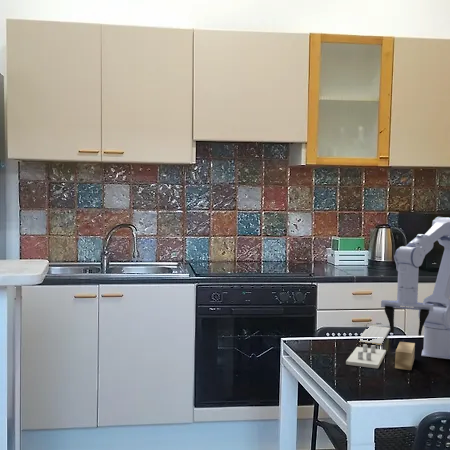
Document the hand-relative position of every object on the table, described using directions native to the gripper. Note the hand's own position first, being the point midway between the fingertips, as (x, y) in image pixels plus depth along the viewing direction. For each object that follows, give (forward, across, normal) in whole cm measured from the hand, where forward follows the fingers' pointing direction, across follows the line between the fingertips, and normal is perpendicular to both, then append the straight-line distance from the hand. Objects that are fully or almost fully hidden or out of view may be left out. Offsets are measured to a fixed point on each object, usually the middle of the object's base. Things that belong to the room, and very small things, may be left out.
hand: (405, 333), depth 166 cm
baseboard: (+9, -14, +35) cm, 39 cm away
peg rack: (+9, -11, 0) cm, 14 cm away
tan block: (+9, 0, 0) cm, 9 cm away
